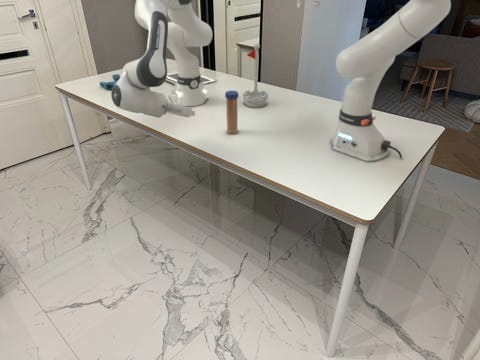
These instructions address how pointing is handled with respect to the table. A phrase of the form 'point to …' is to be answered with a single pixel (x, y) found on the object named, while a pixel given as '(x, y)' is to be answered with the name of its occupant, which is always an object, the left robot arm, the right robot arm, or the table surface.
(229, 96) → the lid
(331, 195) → the table surface
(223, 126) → the table surface
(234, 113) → the jar
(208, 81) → the tablet
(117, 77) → the submachine gun
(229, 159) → the table surface
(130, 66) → the left robot arm
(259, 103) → the flag stand
